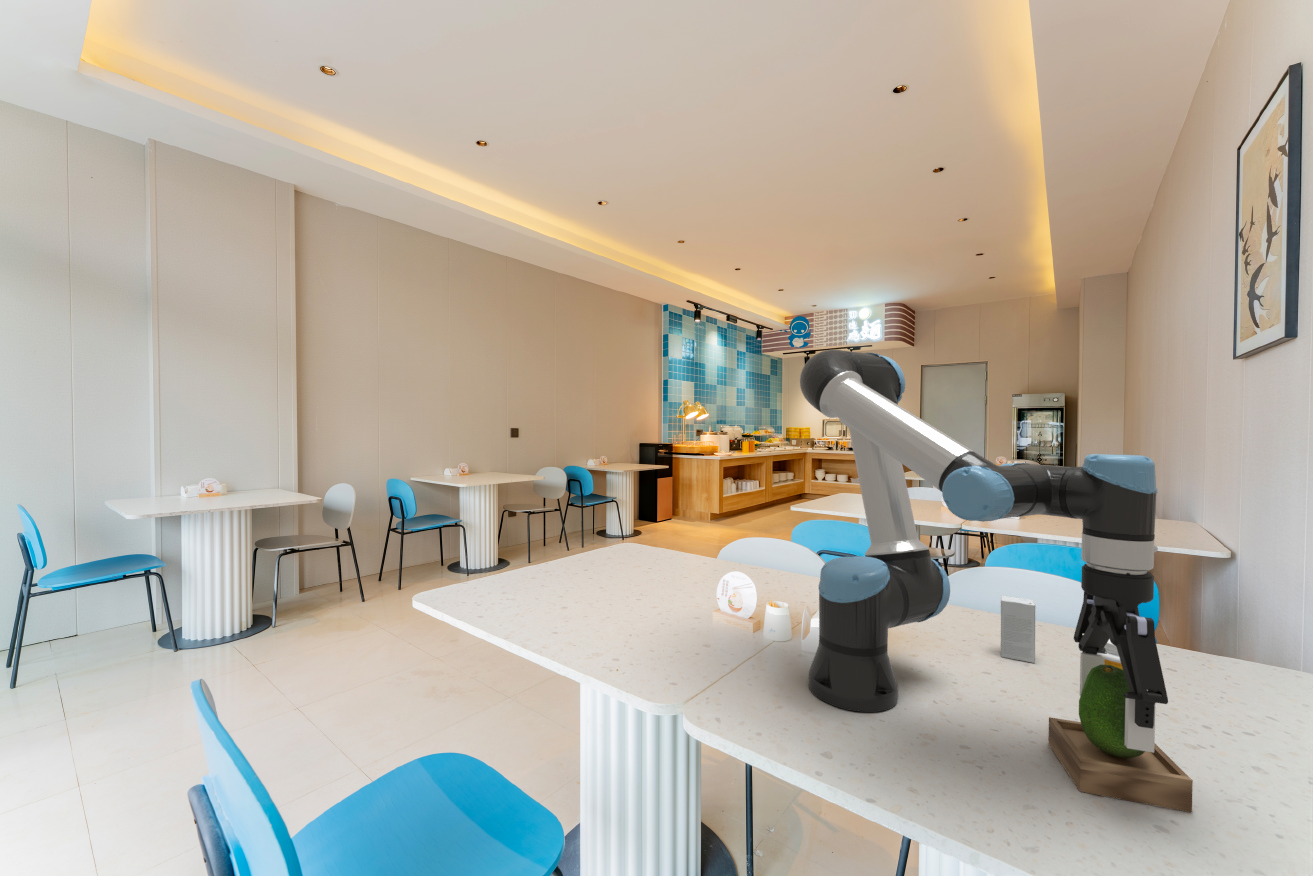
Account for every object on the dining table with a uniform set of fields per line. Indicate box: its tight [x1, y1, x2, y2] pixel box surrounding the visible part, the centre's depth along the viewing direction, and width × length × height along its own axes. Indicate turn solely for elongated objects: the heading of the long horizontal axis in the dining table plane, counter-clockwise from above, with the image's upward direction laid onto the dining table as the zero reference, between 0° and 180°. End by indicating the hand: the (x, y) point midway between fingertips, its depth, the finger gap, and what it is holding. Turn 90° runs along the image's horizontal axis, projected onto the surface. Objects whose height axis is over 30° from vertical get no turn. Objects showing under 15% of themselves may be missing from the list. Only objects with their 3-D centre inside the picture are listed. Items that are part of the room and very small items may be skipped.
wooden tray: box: [1047, 716, 1194, 813], centre depth 74 cm, size 12×12×4 cm
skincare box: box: [1000, 595, 1037, 664], centre depth 113 cm, size 6×4×12 cm
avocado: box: [1078, 665, 1145, 758], centre depth 73 cm, size 8×8×12 cm
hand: (1113, 721), depth 74 cm, fingers open, 13 cm apart
